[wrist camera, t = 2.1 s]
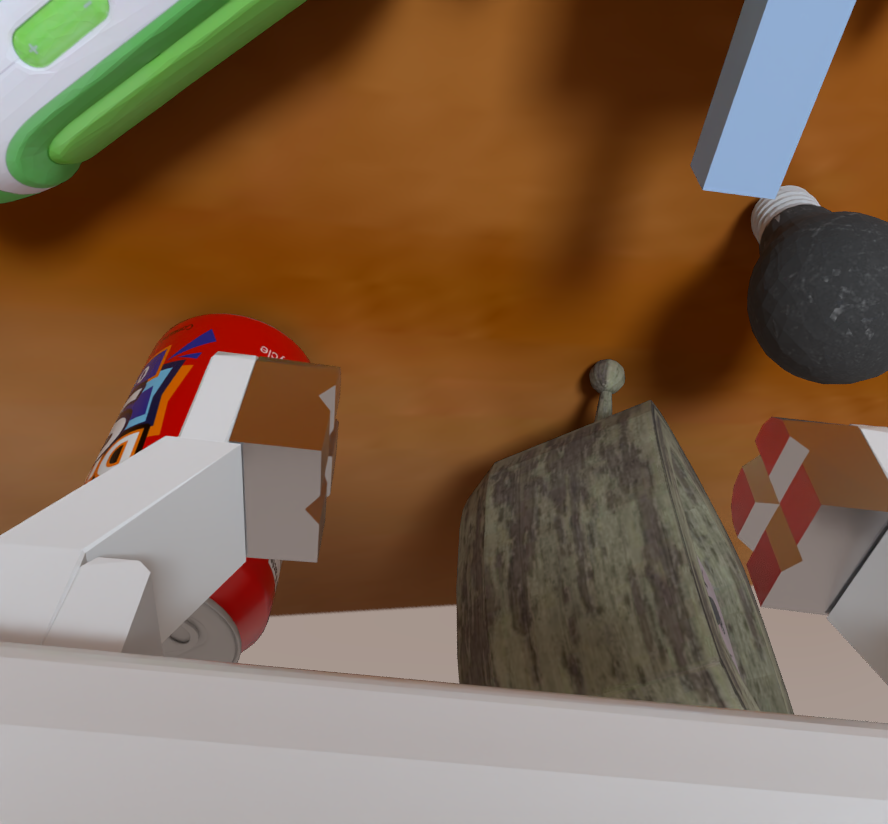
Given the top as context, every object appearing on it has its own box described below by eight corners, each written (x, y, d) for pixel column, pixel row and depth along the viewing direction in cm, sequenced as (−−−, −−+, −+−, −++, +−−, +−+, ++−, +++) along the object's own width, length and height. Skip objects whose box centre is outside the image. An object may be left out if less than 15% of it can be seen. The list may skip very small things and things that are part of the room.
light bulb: (675, 220, 34) (735, 367, 26) (783, 107, 31) (888, 234, 23) (770, 289, 36) (853, 445, 28) (881, 189, 33) (1008, 332, 25)
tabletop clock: (729, 516, 45) (925, 1116, 25) (575, 568, 48) (645, 1139, 28) (624, 318, 37) (791, 970, 17) (448, 397, 40) (425, 1023, 21)
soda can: (348, 414, 41) (298, 686, 29) (207, 449, 42) (108, 719, 31) (277, 281, 36) (185, 543, 24) (122, 327, 38) (-32, 592, 26)
